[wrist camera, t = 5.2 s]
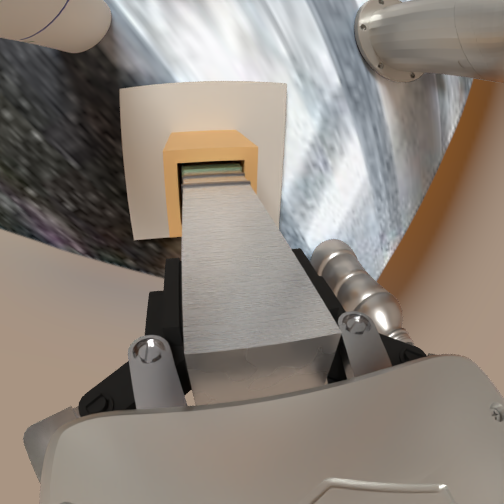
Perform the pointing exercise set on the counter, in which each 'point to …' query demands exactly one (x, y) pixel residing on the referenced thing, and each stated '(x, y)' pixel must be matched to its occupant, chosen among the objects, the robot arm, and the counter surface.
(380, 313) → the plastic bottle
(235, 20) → the counter surface
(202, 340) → the steel column
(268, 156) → the stand base
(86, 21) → the cylindrical container
